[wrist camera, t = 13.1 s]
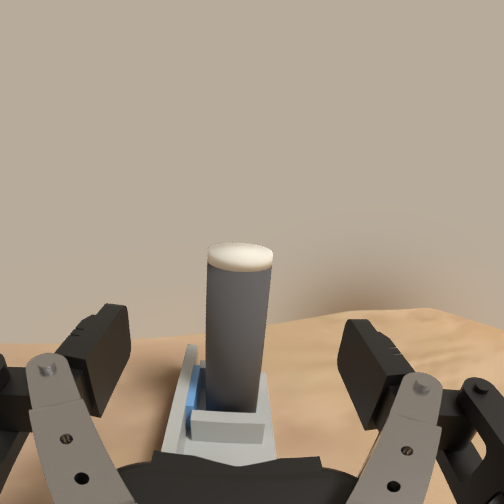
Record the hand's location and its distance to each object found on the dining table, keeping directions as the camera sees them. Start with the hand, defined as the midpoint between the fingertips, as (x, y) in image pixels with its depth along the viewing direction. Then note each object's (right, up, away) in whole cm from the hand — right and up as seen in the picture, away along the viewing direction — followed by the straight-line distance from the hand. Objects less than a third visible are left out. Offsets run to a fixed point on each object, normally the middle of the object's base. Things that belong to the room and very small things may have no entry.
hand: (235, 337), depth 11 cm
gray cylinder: (-1, -11, +14) cm, 18 cm away
